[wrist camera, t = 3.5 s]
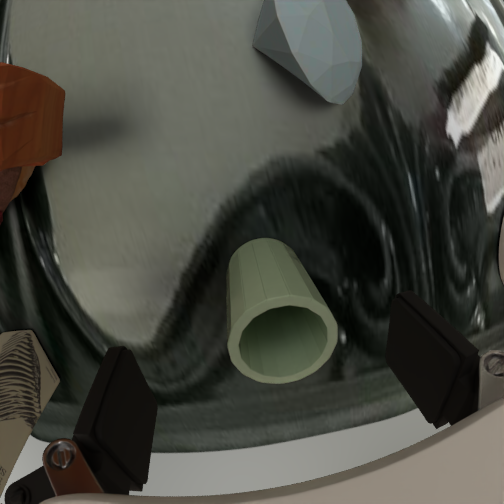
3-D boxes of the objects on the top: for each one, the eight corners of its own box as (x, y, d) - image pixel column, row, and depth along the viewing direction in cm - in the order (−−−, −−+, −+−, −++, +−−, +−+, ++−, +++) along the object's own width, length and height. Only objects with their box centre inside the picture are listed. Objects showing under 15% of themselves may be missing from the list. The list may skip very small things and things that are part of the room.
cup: (295, 231, 16) (337, 285, 10) (301, 297, 17) (337, 371, 11) (220, 244, 16) (217, 307, 10) (234, 309, 17) (239, 391, 11)
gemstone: (189, 97, 10) (304, 64, 7) (200, -35, 9) (290, -78, 5) (294, 126, 16) (378, 121, 13) (290, 19, 14) (364, 3, 11)
